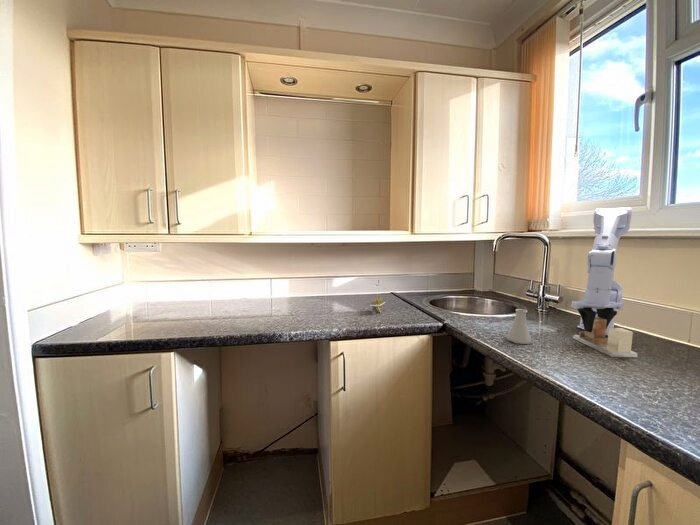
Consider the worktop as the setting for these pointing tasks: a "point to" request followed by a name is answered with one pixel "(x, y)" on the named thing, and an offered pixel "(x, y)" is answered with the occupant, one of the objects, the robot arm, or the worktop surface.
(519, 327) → the flask
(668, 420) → the worktop surface
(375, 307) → the green irregular piece
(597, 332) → the block
